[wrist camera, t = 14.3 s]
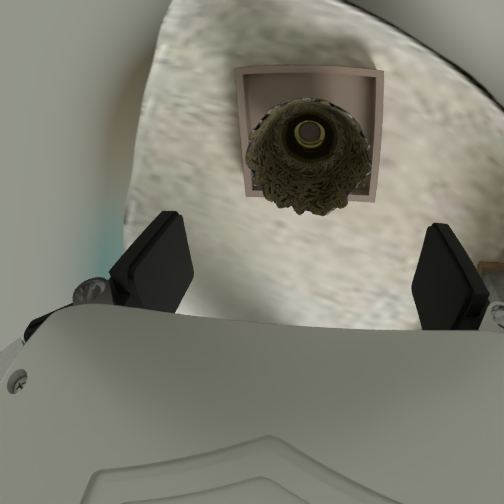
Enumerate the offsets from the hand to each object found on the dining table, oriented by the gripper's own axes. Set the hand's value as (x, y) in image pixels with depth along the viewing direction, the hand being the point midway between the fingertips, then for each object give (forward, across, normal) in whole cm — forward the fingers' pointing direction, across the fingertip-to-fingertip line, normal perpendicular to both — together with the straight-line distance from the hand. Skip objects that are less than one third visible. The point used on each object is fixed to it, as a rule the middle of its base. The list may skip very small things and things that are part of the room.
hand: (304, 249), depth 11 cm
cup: (+16, 0, -1) cm, 16 cm away
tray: (+17, 0, -1) cm, 17 cm away
